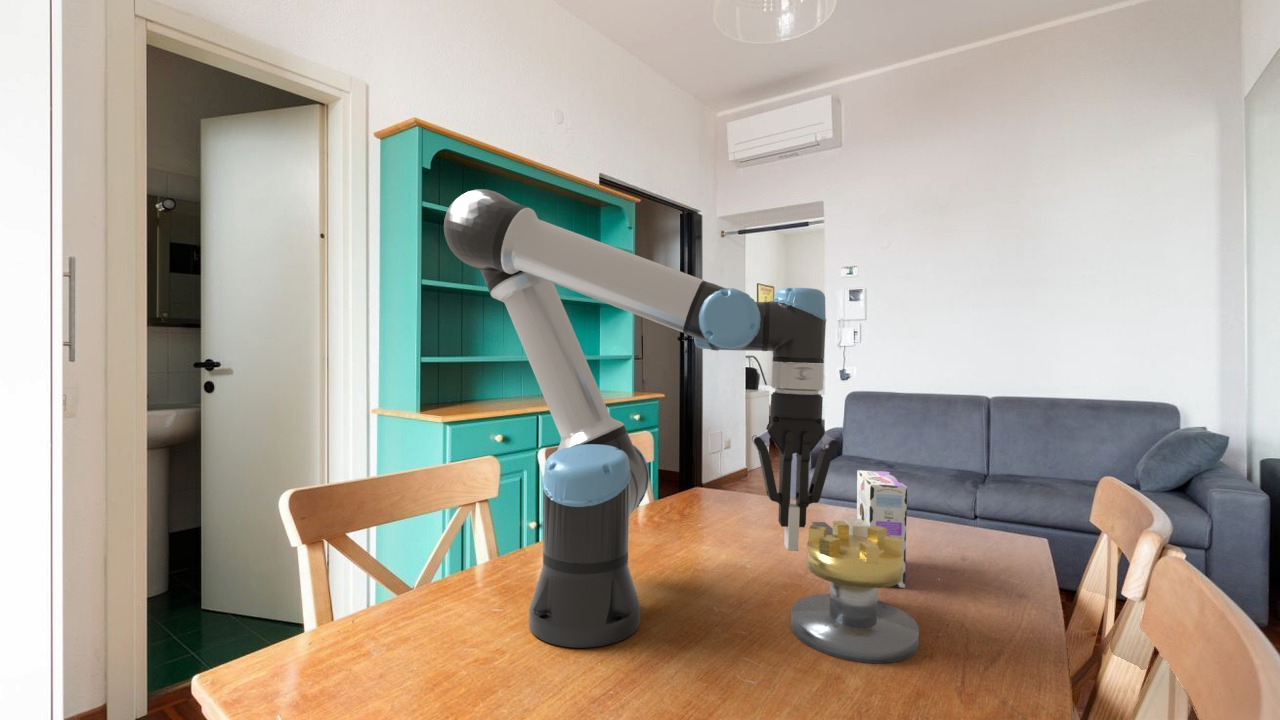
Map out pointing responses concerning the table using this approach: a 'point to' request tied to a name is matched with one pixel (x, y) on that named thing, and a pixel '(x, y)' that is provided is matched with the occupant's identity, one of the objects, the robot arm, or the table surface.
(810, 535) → the gold studded disc
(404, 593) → the table surface
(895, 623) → the nut base
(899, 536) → the candy box
